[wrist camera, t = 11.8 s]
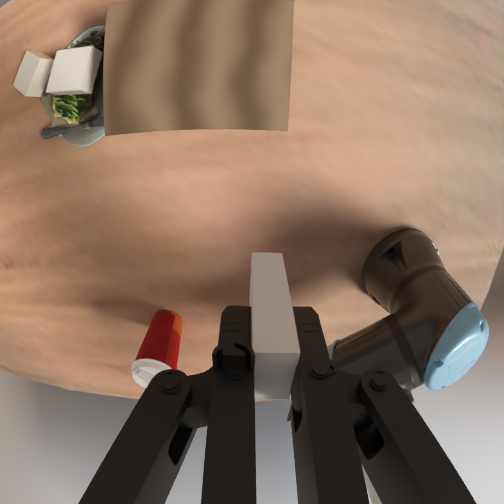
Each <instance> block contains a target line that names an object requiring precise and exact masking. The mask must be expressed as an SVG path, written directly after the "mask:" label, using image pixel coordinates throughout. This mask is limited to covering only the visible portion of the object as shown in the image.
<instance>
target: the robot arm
mask: <svg viewBox="0 0 504 504" xmlns="http://www.w3.org/2000/svg"><path fill="white" fill-rule="evenodd" d="M363 282H364V286H365V288H366V290H367V292H368V294H369V295H370V297H371V298H372V299H373V301H374V302H376V303H377V304H379V305H380V306H381V307H382V308H384V309H385V310H386V311H388V312H389V313H390V315H388V316H387V317H385V318H383V319H381V320H379V321H377V322H375V323H373V324H371V325H369V326H367V327H365V328H363V329H361V330H359V331H357V332H355V333H353V334H351V335H349V336H347V337H345V338H343V339H341V340H339V339H338V340H335V341H334V342H333V344H331V345H329V346H326V342H325V338H324V335H323V332H322V327H321V325H320V320H319V316H318V314H317V313H316V312H315V311H314V309H313V308H312V307H292V302H291V297H290V292H289V286H288V281H287V276H286V271H285V265H284V260H283V255H282V253H265V252H252V258H251V279H250V306H227V307H226V308H225V310H224V311H223V312H222V315H221V324H220V332H219V341H218V346H217V347H216V348H214V351H213V353H212V360H213V366H212V367H211V368H210V369H209V370H207V371H205V372H203V373H200V374H195V375H190V376H187V375H186V374H185V373H183V372H181V371H179V370H175V369H168V370H163V371H161V372H159V373H157V374H156V375H155V376H154V377H153V378H152V379H151V381H150V383H149V384H148V386H147V388H146V389H145V391H144V393H143V394H142V396H141V398H140V399H139V401H138V403H137V404H136V406H135V408H134V409H133V411H132V413H131V414H130V416H129V418H128V420H127V421H126V423H125V424H124V426H123V428H122V430H121V431H120V433H119V434H118V436H117V438H116V439H115V441H114V443H113V445H112V446H111V448H110V450H109V452H108V453H107V455H106V457H105V458H104V460H103V462H102V463H101V465H100V467H99V469H98V470H97V472H96V474H95V476H94V477H93V479H92V481H91V483H90V484H89V486H88V488H87V490H86V491H85V493H84V495H83V497H82V498H81V500H80V502H79V504H165V501H166V499H167V497H168V495H169V492H170V490H171V488H172V485H173V483H174V481H175V479H176V477H177V474H178V472H179V470H180V467H181V465H182V463H183V461H184V458H185V456H186V454H187V451H188V449H189V447H190V444H191V442H192V440H193V438H194V435H195V433H196V430H197V428H200V427H205V426H208V428H207V438H206V449H205V461H204V472H203V473H204V474H203V485H202V499H201V504H256V453H255V399H289V397H290V393H291V399H292V404H291V407H290V411H289V414H288V419H287V421H290V419H291V427H292V436H293V448H294V459H295V471H296V482H297V495H298V504H369V499H368V494H367V489H368V492H369V495H370V499H371V502H372V504H476V502H475V501H474V499H473V497H472V495H471V494H470V492H469V490H468V489H467V487H466V486H465V484H464V482H463V481H462V479H461V477H460V476H459V474H458V473H457V471H456V469H455V468H454V466H453V464H452V463H451V461H450V460H449V458H448V457H447V455H446V454H445V452H444V451H443V449H442V447H441V446H440V444H439V443H438V441H437V440H436V438H435V437H434V435H433V434H432V432H431V431H430V429H429V428H428V426H427V425H426V423H425V422H424V420H423V419H422V417H421V416H420V414H419V413H418V411H417V410H416V408H415V407H414V403H415V402H414V399H413V397H412V394H411V390H413V389H414V388H416V387H418V386H420V385H422V384H424V383H425V385H426V386H427V387H428V388H429V389H432V390H438V389H440V388H445V387H447V386H449V385H451V384H452V383H454V382H455V381H457V380H458V379H459V378H460V377H461V376H463V375H464V374H465V373H466V372H467V371H468V370H469V369H470V368H471V367H472V366H473V364H474V363H475V362H476V361H477V359H478V358H479V356H480V355H481V353H482V352H483V350H484V348H485V346H486V343H487V340H488V335H489V328H488V324H487V322H486V320H485V318H484V317H483V315H482V314H481V312H480V311H479V308H478V306H477V305H476V303H474V302H473V301H472V300H471V299H470V297H469V296H468V295H467V294H466V293H465V291H464V290H463V289H462V288H461V287H460V286H459V285H458V283H457V282H456V281H455V280H454V279H453V278H452V277H451V275H450V274H449V273H448V272H447V271H446V270H445V268H444V266H443V263H442V261H441V259H440V256H439V252H438V249H437V247H436V245H435V244H434V243H433V241H432V240H431V239H430V238H429V237H428V236H427V235H425V234H424V233H422V232H420V231H418V230H412V229H408V230H401V231H398V232H395V233H393V234H391V235H389V236H388V237H386V238H385V239H383V240H382V241H381V242H380V243H379V244H378V245H377V246H376V247H375V248H374V249H373V250H372V252H371V253H370V255H369V257H368V259H367V261H366V263H365V266H364V270H363ZM366 486H367V489H366Z"/></svg>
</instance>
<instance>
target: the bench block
mask: <svg viewBox="0 0 504 504" xmlns="http://www.w3.org/2000/svg"><path fill="white" fill-rule="evenodd" d="M293 6H294V0H133V1H128V2H123V3H119V4H115V5H111V6H107V16H106V26H105V40H104V61H103V107H104V130H105V136H110V135H119V134H128V133H139V132H152V131H168V130H192V129H249V130H273V131H288V117H289V100H290V81H291V61H292V37H293Z"/></svg>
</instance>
